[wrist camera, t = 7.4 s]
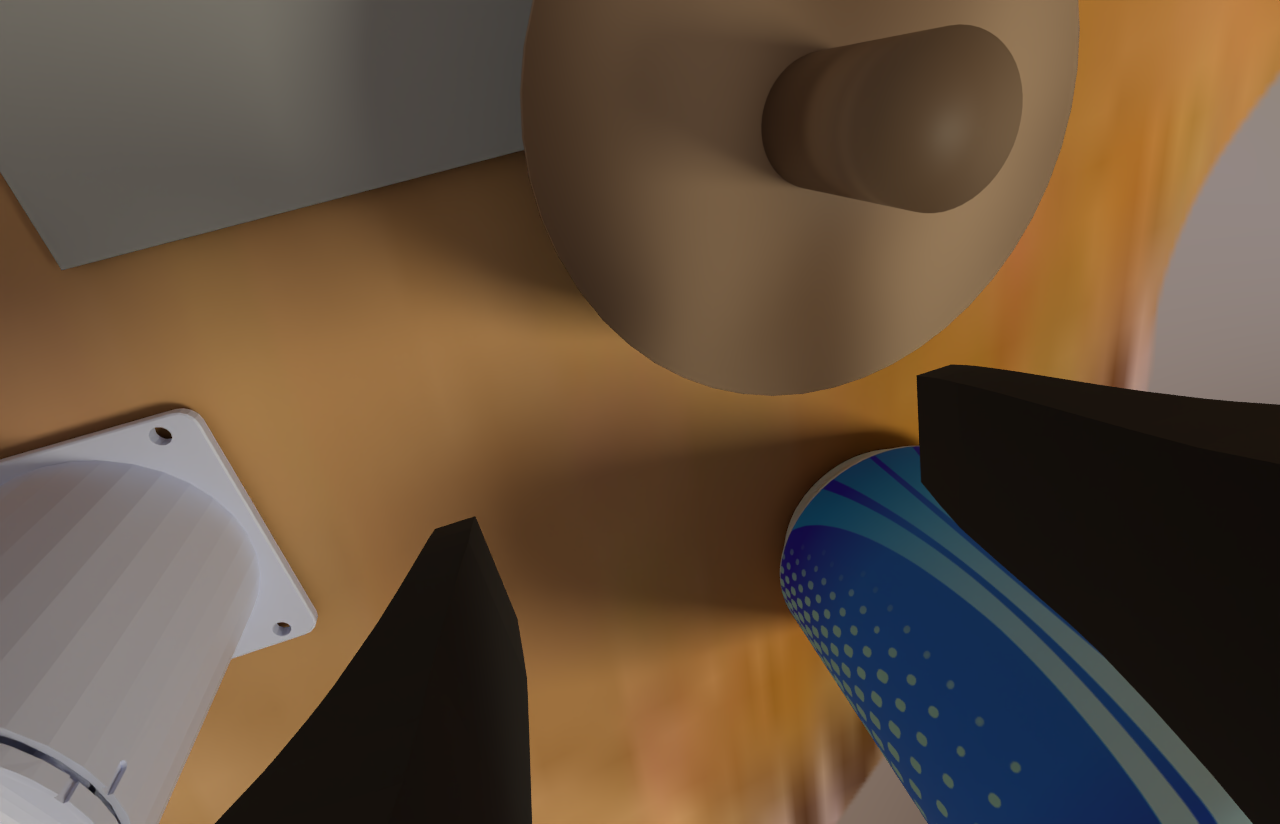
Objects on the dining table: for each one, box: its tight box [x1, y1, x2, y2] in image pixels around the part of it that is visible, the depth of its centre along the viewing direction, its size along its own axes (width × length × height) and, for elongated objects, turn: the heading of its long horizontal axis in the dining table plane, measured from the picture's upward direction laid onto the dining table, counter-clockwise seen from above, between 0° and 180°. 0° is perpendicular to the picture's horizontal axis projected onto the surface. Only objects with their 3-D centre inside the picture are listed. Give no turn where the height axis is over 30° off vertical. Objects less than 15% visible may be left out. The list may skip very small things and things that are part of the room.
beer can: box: [780, 446, 1253, 824], centre depth 18 cm, size 8×8×16 cm
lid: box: [520, 0, 1080, 396], centre depth 12 cm, size 12×12×5 cm
